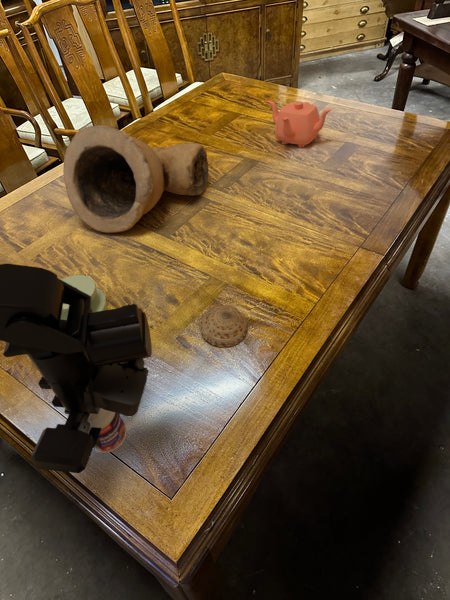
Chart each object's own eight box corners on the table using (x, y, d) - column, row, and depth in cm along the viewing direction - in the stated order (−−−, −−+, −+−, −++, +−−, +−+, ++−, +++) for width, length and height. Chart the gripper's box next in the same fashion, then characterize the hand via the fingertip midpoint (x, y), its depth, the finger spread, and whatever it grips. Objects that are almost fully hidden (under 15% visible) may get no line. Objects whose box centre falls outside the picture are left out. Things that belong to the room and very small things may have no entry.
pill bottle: (109, 460, 59) (88, 427, 52) (83, 442, 62) (59, 408, 55) (134, 429, 62) (117, 394, 55) (108, 413, 65) (88, 377, 58)
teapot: (329, 146, 121) (333, 107, 113) (282, 155, 119) (282, 116, 112) (311, 126, 131) (313, 89, 123) (267, 134, 129) (266, 97, 122)
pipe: (214, 209, 119) (181, 240, 92) (119, 204, 124) (63, 233, 98) (212, 119, 108) (175, 126, 82) (109, 119, 114) (44, 125, 88)
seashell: (230, 295, 78) (248, 307, 71) (237, 321, 80) (256, 336, 73) (190, 311, 75) (205, 326, 68) (198, 338, 78) (213, 355, 71)
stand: (41, 329, 79) (30, 311, 75) (64, 289, 86) (55, 270, 83) (95, 332, 77) (87, 314, 73) (114, 291, 84) (107, 272, 81)
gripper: (103, 445, 41) (139, 502, 52) (152, 309, 54) (172, 377, 65) (2, 435, 43) (57, 492, 54) (72, 305, 56) (105, 372, 67)
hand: (104, 428), depth 60 cm, fingers closed on pill bottle, 5 cm apart
